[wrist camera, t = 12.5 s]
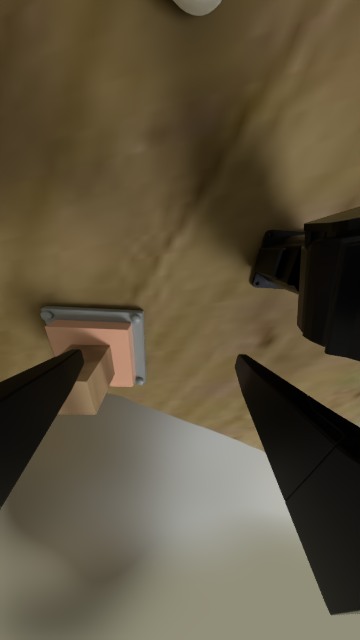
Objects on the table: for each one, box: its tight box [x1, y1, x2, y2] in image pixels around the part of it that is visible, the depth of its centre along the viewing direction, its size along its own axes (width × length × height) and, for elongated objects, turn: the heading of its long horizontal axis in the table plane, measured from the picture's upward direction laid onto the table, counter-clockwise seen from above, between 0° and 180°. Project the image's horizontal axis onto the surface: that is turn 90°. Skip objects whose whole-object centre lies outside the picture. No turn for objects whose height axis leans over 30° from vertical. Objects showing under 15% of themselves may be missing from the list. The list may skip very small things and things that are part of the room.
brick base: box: [40, 306, 146, 387], centre depth 23 cm, size 13×13×3 cm
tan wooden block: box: [58, 344, 115, 414], centre depth 18 cm, size 5×5×6 cm
